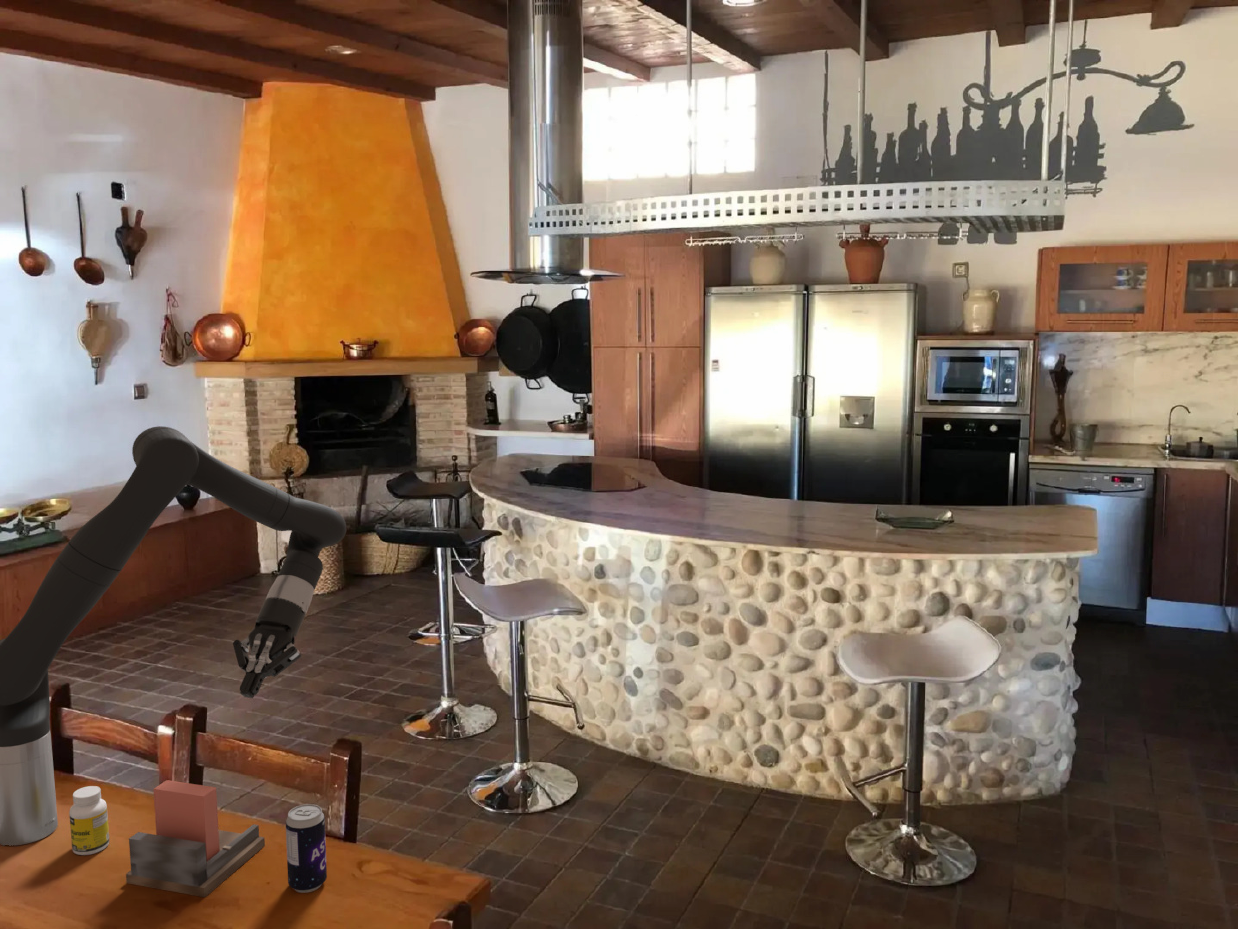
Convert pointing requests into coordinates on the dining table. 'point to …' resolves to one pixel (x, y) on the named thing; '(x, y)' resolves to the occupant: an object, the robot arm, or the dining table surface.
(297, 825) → the beverage can
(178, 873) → the holder
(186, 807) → the pink upright block
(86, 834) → the supplement bottle
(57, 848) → the dining table surface
